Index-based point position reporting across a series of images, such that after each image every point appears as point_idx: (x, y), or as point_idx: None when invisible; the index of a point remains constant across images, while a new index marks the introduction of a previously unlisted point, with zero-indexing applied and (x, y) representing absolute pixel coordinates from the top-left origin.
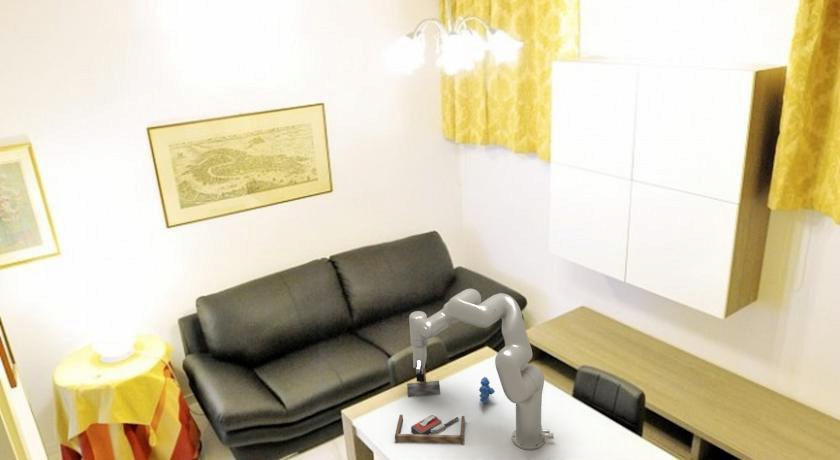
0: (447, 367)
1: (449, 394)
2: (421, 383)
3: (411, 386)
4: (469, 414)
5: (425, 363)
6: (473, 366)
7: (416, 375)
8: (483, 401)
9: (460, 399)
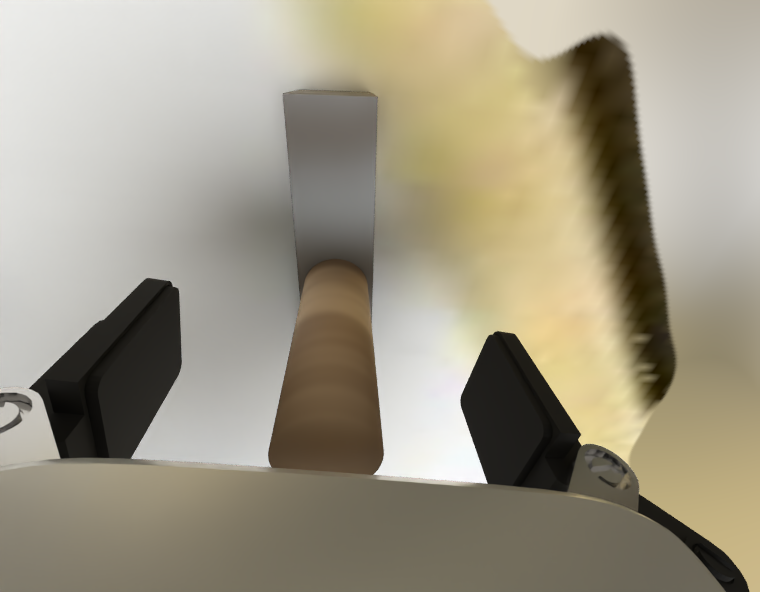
0: (603, 405)
1: None
2: (307, 282)
3: (299, 154)
4: None
5: (487, 473)
6: None
7: (83, 347)
8: None
9: (246, 442)
